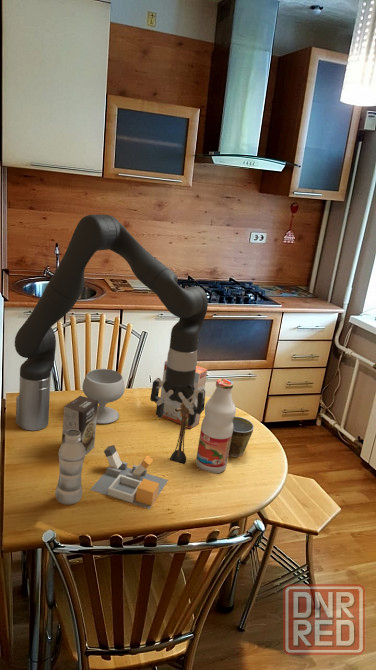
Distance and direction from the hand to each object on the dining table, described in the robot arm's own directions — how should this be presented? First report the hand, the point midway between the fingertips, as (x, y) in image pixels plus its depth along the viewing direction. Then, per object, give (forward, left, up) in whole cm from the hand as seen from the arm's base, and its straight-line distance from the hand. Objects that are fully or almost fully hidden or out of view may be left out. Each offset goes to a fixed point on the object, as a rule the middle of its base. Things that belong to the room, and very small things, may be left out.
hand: (175, 421), depth 137 cm
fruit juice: (+8, +17, -21) cm, 29 cm away
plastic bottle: (-20, -17, -21) cm, 34 cm away
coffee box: (-30, +4, -21) cm, 37 cm away
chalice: (-34, +27, -21) cm, 48 cm away
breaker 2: (-9, -1, -19) cm, 21 cm away
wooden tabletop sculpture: (-2, +14, -21) cm, 26 cm away
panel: (-9, -5, -21) cm, 23 cm away
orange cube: (-2, -8, -20) cm, 22 cm away
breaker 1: (-15, -1, -19) cm, 24 cm away
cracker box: (-10, +39, -21) cm, 46 cm away
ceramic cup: (+11, +29, -21) cm, 38 cm away
